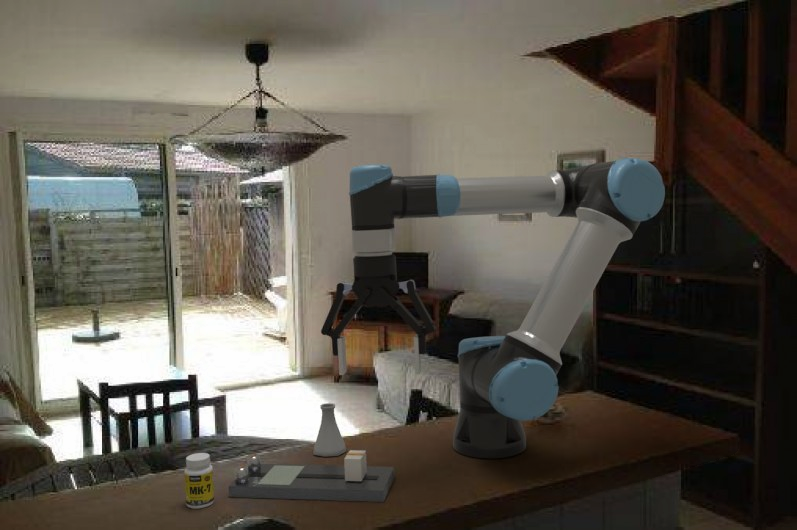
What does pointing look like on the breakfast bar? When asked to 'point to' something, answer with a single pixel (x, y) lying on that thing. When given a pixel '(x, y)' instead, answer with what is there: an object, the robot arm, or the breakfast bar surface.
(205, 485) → the supplement bottle
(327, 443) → the flask
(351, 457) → the fader
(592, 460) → the breakfast bar surface
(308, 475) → the console
